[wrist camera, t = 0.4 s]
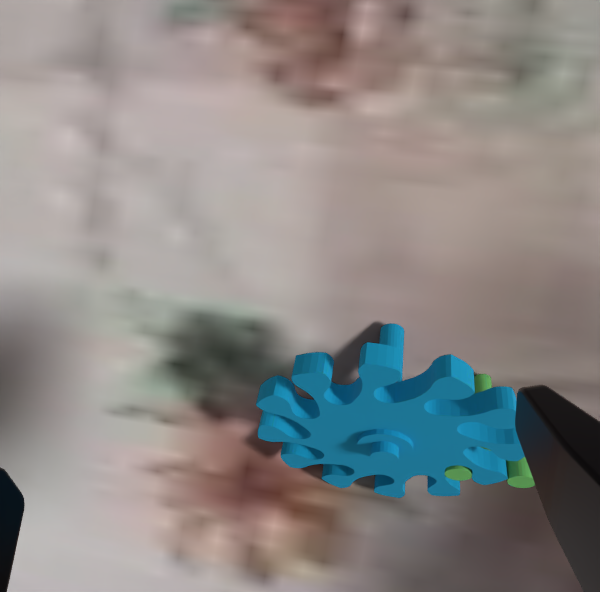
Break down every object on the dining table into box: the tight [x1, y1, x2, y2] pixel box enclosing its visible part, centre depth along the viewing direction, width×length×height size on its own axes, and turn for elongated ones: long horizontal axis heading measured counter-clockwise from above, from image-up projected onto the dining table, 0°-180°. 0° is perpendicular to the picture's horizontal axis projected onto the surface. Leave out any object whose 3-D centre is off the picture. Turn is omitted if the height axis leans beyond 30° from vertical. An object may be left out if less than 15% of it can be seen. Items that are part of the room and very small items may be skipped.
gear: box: [256, 324, 535, 498], centre depth 21 cm, size 11×6×10 cm
